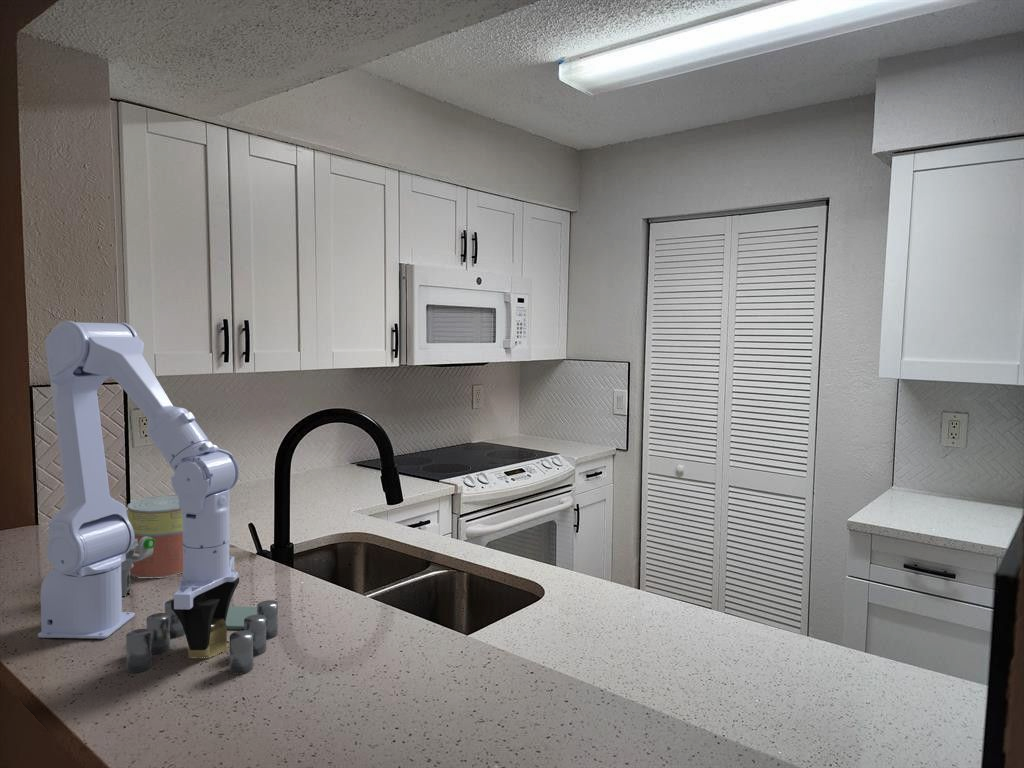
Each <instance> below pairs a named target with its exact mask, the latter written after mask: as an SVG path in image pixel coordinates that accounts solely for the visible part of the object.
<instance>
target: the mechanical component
mask: <svg viewBox="0 0 1024 768" xmlns="http://www.w3.org/2000/svg"><path fill="white" fill-rule="evenodd" d="M154 545H155V540H154V539H152V538H151V537H147V536H145V537H143V538H141V539H140V541H139V543H138V539H135V534H134V543H133V546H132V548H131V550H130V551H129V552H128V553H126V554H125V559H126V560H125V561H123V562H122V563H121V585H122V596H125V595H126V596H127V595H128V594H127V593H130V594H131V575H130V569H131V568H133V566H134V565H133V562H138V561H140V560H142V559H145V558H147V557H149V556H151V555H152V554H153V547H154ZM135 551H138V552H139V554H136V553H135ZM126 596H125V597H126Z"/></svg>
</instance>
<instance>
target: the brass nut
mask: <svg viewBox="0 0 1024 768" xmlns="http://www.w3.org/2000/svg"><path fill="white" fill-rule="evenodd" d="M227 631H228V629H227V625H226V623H225V620H224V618H213V619H212V623H211V631H210V640H209V644H208V647H207V649H206V650H190V648H189V645H188V642H187V641H186V642H187V643H186V650H188V651H187V655H188V658H189V657H199V658H198V659H211V658H210V657H212V656H214V657H216V656H218V655H220V654H222V653H221V652H223V653H225V652H227V651H228V640H227V638H228V634H227V633H228V632H227ZM226 650H227V651H226ZM224 651H225V652H224ZM219 653H220V654H219ZM217 654H218V655H217ZM215 655H216V656H215ZM200 657H201V658H200ZM202 657H203V658H202ZM204 657H205V658H204ZM206 657H207V658H206ZM212 658H213V657H212Z"/></svg>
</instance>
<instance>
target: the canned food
mask: <svg viewBox="0 0 1024 768" xmlns="http://www.w3.org/2000/svg"><path fill="white" fill-rule="evenodd" d="M126 509H127V517H128V520H129V522H130V523H131V525H132V527H133V531H134V534H135V539H138V543H139V541H140V539H141V538H143V537H145V536H147V537H151V538H152V539H154V540H155V545H154V547H153V554H152V555H151V556H149V557H147V558H145V559H142V560H140V561H138V562H133V565H134V566H133V568H131V569H130V576H131V575H132V576H131V577H133V576H136V577H153V578H154V577H166V576H171V575H177V574H180V573H183V512H181V508H179V499H178V496H177V494H176V495H172V494H171V495H158V496H151V497H144V498H140V499H137V500H134V501H131V502H130V503H128V504H127V505H126ZM135 553H136V554H139V552H138V551H135ZM177 576H178V575H177ZM136 577H135V578H136Z"/></svg>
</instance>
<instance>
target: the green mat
mask: <svg viewBox="0 0 1024 768" xmlns="http://www.w3.org/2000/svg"><path fill="white" fill-rule="evenodd" d="M251 615H257V606H231V605H229V609H228V613H227V618H226V622H225V623H226V625H227V630H241V629H244V619H245V618H246V617H248V616H251Z"/></svg>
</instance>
